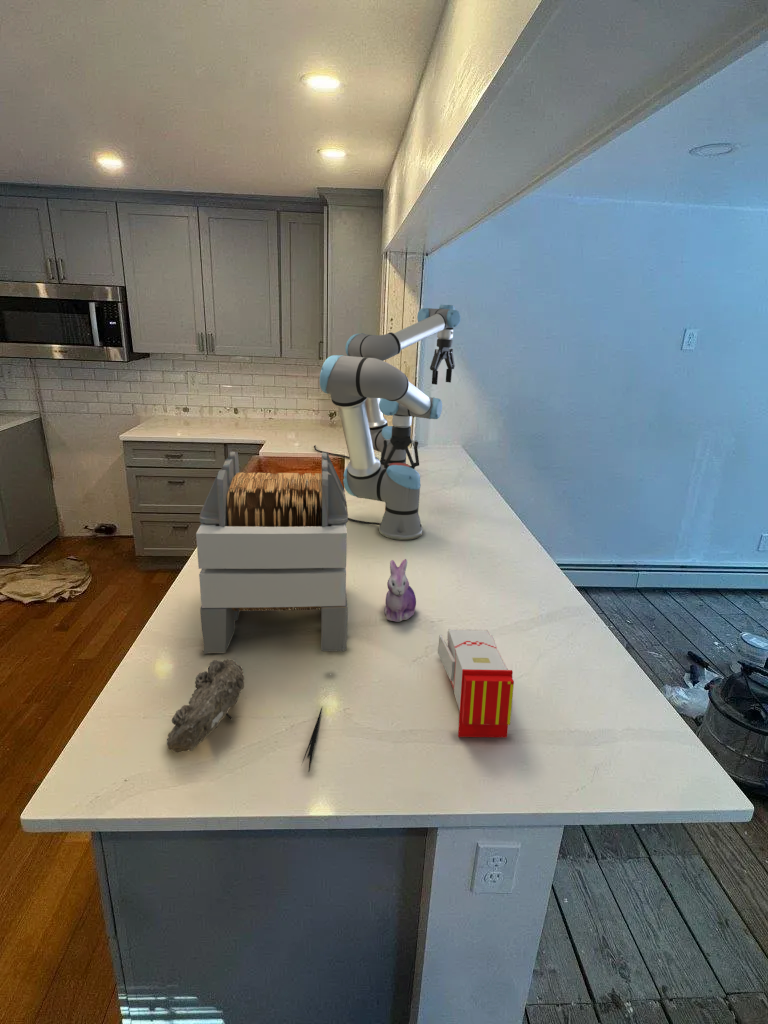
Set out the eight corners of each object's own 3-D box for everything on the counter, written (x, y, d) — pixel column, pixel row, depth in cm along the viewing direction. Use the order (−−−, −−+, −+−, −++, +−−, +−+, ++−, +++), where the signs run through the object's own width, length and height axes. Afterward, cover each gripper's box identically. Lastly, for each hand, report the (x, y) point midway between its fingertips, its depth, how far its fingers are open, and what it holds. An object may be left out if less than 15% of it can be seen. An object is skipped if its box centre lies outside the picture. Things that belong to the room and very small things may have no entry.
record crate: (224, 585, 158) (215, 442, 144) (341, 584, 162) (344, 444, 148) (200, 656, 126) (187, 481, 112) (347, 652, 130) (351, 482, 116)
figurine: (392, 627, 141) (395, 572, 136) (374, 608, 149) (376, 556, 144) (425, 619, 145) (429, 566, 140) (405, 601, 154) (408, 550, 149)
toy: (488, 613, 130) (523, 677, 101) (484, 667, 133) (517, 744, 104) (435, 612, 130) (455, 676, 101) (432, 666, 133) (451, 743, 103)
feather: (331, 679, 122) (336, 673, 122) (307, 777, 96) (313, 769, 95) (324, 675, 122) (329, 669, 121) (298, 772, 95) (304, 764, 95)
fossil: (192, 660, 117) (244, 628, 112) (224, 691, 120) (276, 661, 115) (142, 746, 98) (202, 712, 93) (182, 779, 101) (242, 748, 96)
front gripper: (428, 425, 224) (423, 480, 232) (374, 422, 224) (372, 478, 231) (429, 429, 217) (425, 485, 225) (374, 426, 217) (372, 483, 224)
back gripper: (438, 339, 263) (435, 386, 270) (463, 338, 282) (460, 382, 289) (424, 338, 267) (421, 384, 274) (450, 337, 286) (447, 380, 293)
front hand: (398, 481), depth 228 cm, fingers closed on can, 8 cm apart
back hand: (441, 383), depth 281 cm, fingers open, 13 cm apart
